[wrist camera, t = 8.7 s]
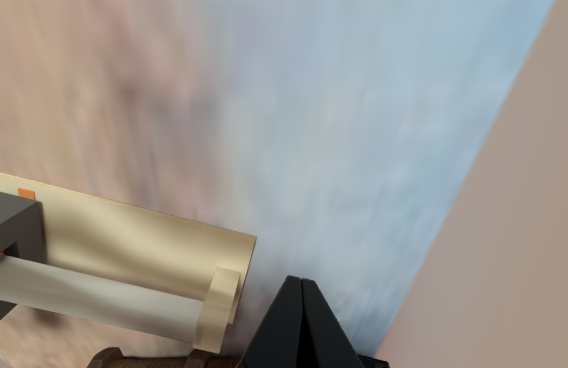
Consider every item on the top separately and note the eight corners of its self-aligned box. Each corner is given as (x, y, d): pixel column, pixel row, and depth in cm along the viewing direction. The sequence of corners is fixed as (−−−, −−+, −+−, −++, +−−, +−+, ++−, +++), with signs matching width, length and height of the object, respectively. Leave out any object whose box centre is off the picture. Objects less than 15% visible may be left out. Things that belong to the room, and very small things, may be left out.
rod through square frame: (233, 318, 29) (217, 384, 23) (-47, 253, 27) (-136, 308, 22) (256, 236, 25) (242, 294, 19) (-75, 153, 23) (-195, 189, 17)
